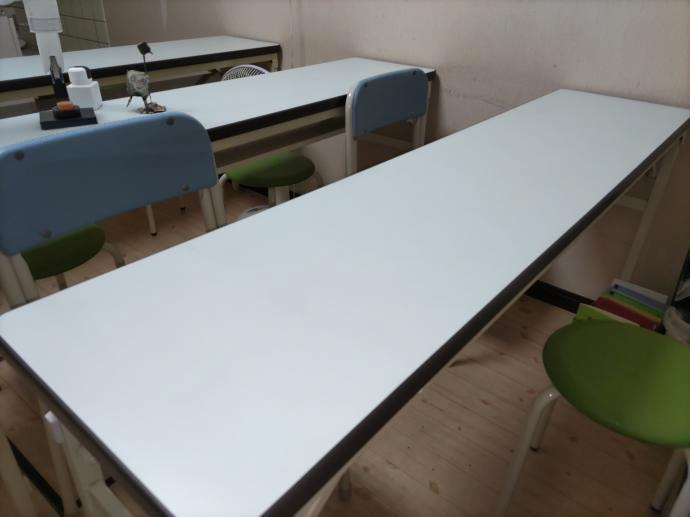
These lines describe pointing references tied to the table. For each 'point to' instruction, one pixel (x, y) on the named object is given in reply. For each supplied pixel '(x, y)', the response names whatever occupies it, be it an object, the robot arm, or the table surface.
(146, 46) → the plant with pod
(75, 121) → the button housing
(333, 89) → the table surface
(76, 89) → the medicine bottle
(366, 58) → the table surface
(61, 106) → the release button
